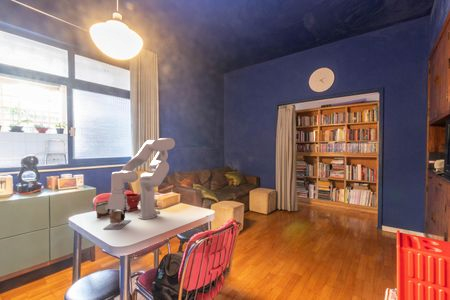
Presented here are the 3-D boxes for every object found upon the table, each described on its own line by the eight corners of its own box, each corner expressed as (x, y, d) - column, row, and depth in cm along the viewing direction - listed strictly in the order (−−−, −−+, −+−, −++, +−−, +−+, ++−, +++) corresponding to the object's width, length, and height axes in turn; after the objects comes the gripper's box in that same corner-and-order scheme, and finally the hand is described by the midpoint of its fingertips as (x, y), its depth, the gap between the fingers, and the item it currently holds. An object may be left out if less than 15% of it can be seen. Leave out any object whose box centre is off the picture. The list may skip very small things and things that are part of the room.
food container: (109, 212, 163) (109, 199, 162) (113, 214, 159) (113, 200, 159) (91, 217, 152) (91, 203, 152) (95, 218, 149) (95, 204, 149)
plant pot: (124, 213, 162) (124, 197, 162) (119, 209, 171) (119, 194, 171) (142, 210, 171) (142, 195, 170) (136, 206, 180) (136, 192, 180)
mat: (130, 221, 145) (130, 220, 145) (120, 229, 130) (120, 228, 130) (115, 221, 144) (115, 220, 144) (103, 229, 129) (103, 228, 129)
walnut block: (124, 219, 140) (124, 210, 140) (119, 222, 134) (120, 213, 134) (114, 219, 140) (115, 210, 140) (110, 222, 134) (110, 213, 134)
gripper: (133, 190, 141) (133, 217, 141) (107, 190, 140) (106, 217, 140) (128, 192, 133) (128, 221, 133) (100, 192, 133) (100, 221, 133)
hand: (117, 219), depth 137 cm, fingers closed on walnut block, 6 cm apart
